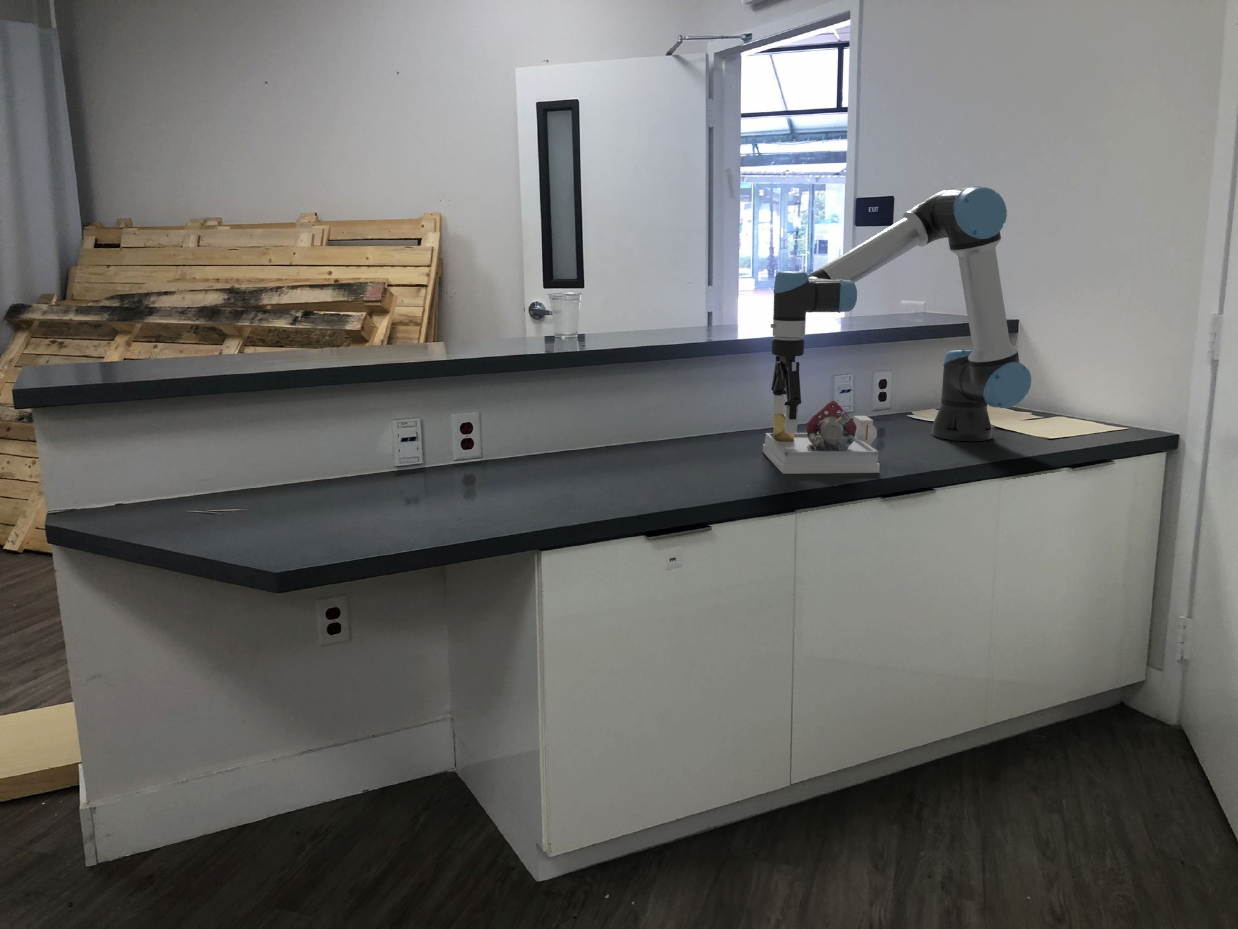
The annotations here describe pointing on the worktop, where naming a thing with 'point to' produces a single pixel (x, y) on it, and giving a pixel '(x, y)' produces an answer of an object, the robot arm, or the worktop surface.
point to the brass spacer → (781, 429)
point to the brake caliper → (831, 429)
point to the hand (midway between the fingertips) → (784, 427)
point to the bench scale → (826, 453)
